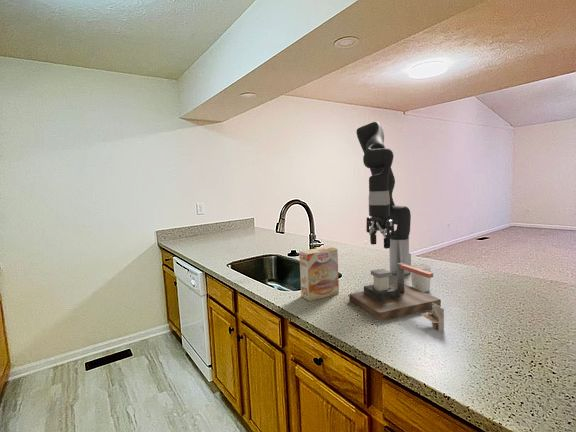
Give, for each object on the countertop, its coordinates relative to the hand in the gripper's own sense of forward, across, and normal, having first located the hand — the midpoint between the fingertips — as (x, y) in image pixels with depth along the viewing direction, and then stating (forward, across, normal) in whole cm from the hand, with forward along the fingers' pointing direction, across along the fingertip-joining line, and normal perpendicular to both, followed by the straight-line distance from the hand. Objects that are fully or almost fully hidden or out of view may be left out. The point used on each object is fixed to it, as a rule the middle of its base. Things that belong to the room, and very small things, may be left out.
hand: (380, 246), depth 123 cm
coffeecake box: (+22, -19, -17) cm, 34 cm away
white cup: (+22, -5, +23) cm, 33 cm away
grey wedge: (+23, +24, +3) cm, 34 cm away
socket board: (+22, +3, +3) cm, 23 cm away
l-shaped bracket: (+19, +7, +9) cm, 22 cm away
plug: (+19, 0, 0) cm, 19 cm away
